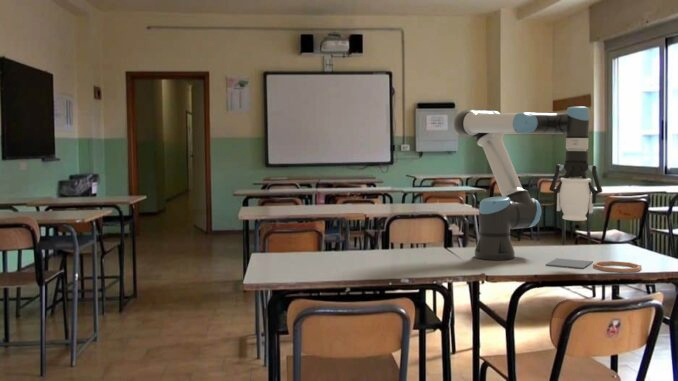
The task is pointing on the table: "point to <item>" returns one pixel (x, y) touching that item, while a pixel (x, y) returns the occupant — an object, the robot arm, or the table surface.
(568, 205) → the jar
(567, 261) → the mat
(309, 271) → the table surface
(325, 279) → the table surface
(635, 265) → the brown wooden ring
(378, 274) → the table surface
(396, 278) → the table surface
